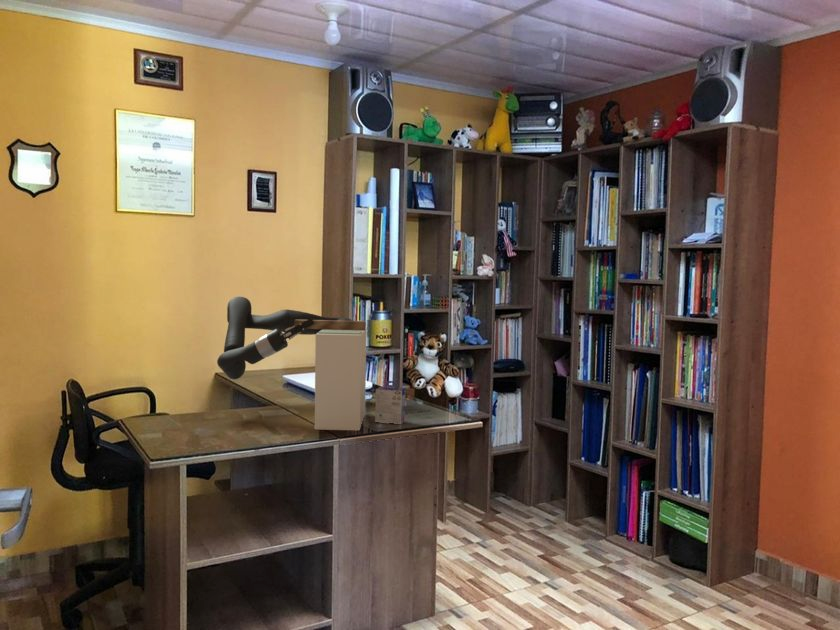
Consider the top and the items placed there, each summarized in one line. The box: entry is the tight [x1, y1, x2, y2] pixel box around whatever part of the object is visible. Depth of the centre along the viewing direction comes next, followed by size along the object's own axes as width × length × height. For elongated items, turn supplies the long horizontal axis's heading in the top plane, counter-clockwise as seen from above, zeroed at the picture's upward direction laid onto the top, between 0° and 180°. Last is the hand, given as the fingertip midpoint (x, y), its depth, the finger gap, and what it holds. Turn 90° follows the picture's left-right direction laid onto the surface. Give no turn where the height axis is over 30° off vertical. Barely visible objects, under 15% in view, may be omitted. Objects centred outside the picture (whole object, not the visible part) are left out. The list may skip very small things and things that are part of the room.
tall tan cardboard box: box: [314, 328, 367, 431], centre depth 244 cm, size 15×24×32 cm, turn 0°
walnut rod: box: [294, 319, 367, 330], centre depth 248 cm, size 25×3×3 cm, turn 90°
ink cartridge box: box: [374, 380, 406, 425], centre depth 245 cm, size 10×6×14 cm, turn 78°
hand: (313, 320), depth 248 cm, fingers closed on walnut rod, 3 cm apart
